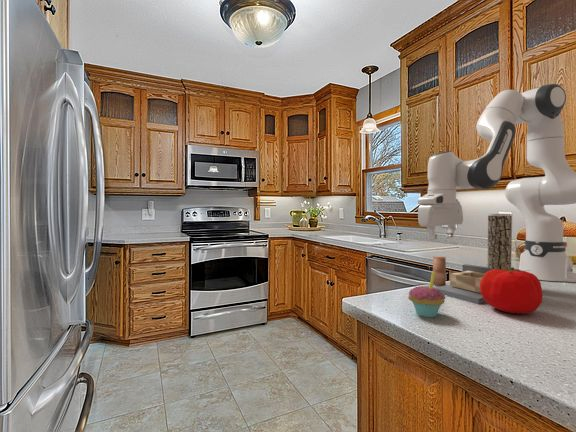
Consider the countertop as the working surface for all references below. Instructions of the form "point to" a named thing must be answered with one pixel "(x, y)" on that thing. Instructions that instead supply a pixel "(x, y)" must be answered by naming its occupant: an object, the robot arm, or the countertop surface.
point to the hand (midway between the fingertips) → (441, 238)
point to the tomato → (511, 290)
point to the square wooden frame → (466, 280)
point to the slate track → (463, 293)
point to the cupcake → (426, 299)
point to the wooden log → (499, 241)
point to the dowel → (439, 270)
